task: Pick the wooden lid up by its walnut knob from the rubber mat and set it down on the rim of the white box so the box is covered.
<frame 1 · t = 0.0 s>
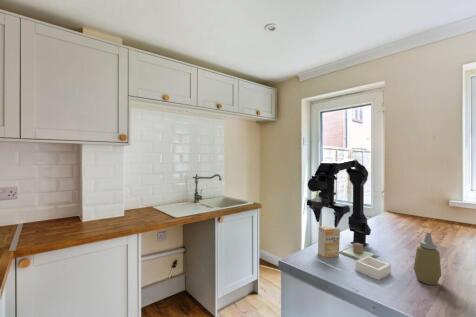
hand: (326, 224, 107), 15 cm above the counter, fingers open, 9 cm apart
supplement box: (328, 256, 109), on the counter
lid: (358, 254, 110), resting on mat
white box: (372, 272, 94), on the counter
squeeze bottle: (426, 281, 88), on the counter
mat: (358, 255, 110), on the counter
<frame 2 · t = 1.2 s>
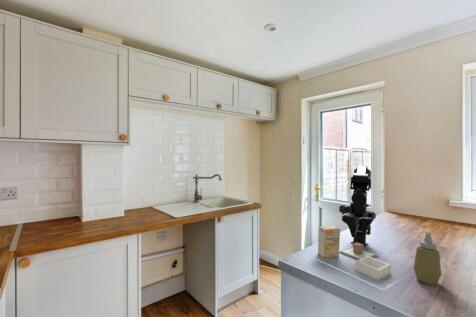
hand: (358, 235, 110), 9 cm above the counter, fingers open, 9 cm apart
nothing on the counter moved.
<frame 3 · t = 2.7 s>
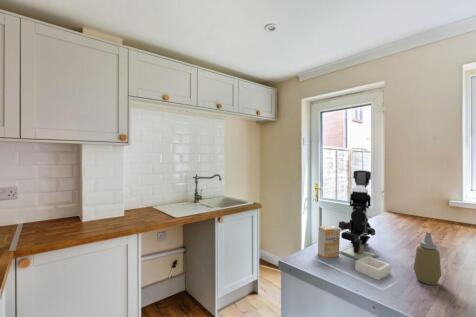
hand: (358, 251, 110), 2 cm above the counter, fingers closed on lid, 3 cm apart
lid: (358, 254, 110), resting on mat, touching gripper
everything else where it was.
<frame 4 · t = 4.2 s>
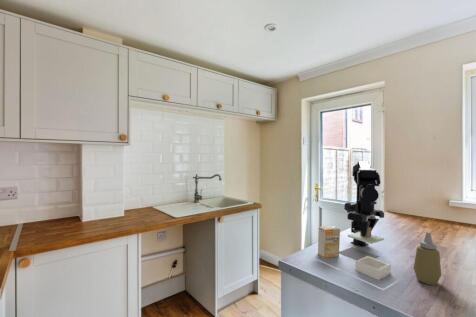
hand: (365, 235, 101), 12 cm above the counter, fingers closed on lid, 3 cm apart
lid: (365, 238, 101), point 11 cm above the counter, touching gripper
everything else where it was.
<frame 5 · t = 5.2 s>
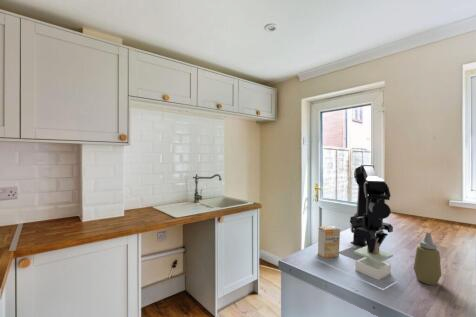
hand: (373, 251, 94), 8 cm above the counter, fingers closed on lid, 3 cm apart
lid: (373, 254, 94), point 7 cm above the counter, touching gripper
everything else where it was.
when the fingers open (7 cm above the counter, at t = 5.7 s): lid drops 1 cm, resting on white box.
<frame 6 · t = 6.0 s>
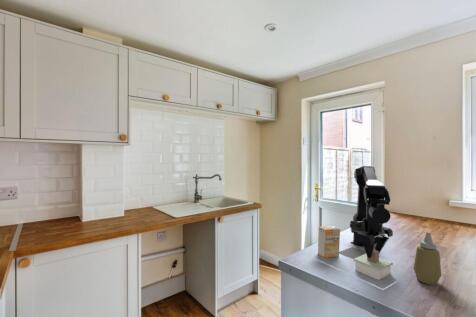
hand: (373, 256, 93), 7 cm above the counter, fingers open, 6 cm apart
lid: (372, 262, 94), point 4 cm above the counter, touching white box
everything else where it was.
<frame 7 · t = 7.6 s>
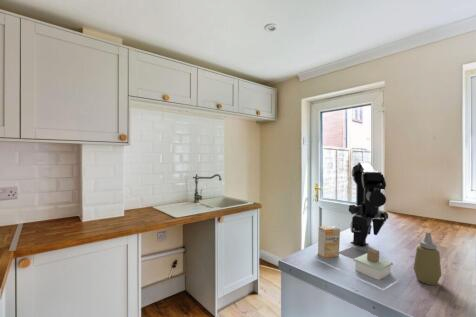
hand: (369, 237, 101), 11 cm above the counter, fingers open, 9 cm apart
nothing on the counter moved.
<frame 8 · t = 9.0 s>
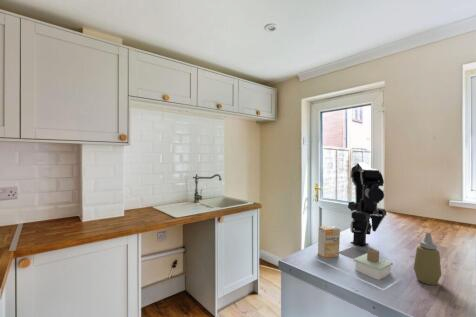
hand: (368, 233, 105), 12 cm above the counter, fingers open, 9 cm apart
nothing on the counter moved.
at the end: lid 0.0 cm off-centre on the white box, point 4.0 cm above the white box's base; lid tilted 0°; the gripper is holding nothing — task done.
